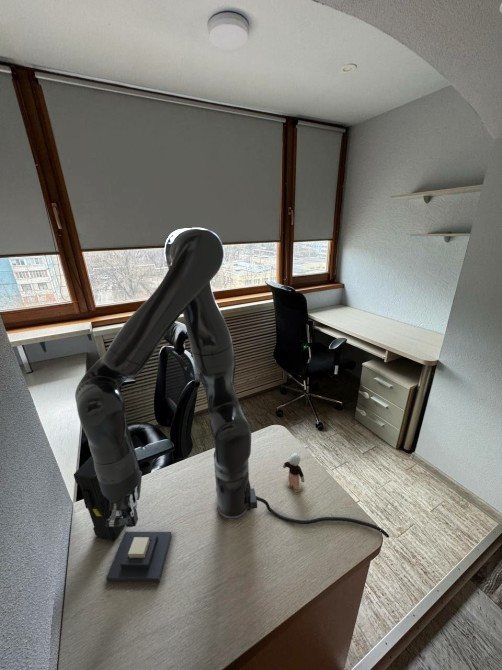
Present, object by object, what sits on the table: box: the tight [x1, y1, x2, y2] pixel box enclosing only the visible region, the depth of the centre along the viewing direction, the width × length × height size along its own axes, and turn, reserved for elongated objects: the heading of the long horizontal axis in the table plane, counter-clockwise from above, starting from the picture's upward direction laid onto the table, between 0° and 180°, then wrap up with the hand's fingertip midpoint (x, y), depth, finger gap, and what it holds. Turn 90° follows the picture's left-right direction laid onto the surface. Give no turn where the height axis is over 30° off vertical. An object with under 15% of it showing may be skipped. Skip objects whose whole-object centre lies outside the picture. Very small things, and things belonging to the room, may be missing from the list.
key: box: [128, 537, 150, 558], centre depth 64 cm, size 4×4×2 cm
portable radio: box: [73, 454, 125, 542], centre depth 67 cm, size 8×6×25 cm
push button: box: [105, 531, 173, 584], centre depth 65 cm, size 12×10×4 cm
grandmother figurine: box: [282, 453, 305, 493], centre depth 81 cm, size 8×4×13 cm, turn 58°
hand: (132, 522), depth 61 cm, fingers closed
